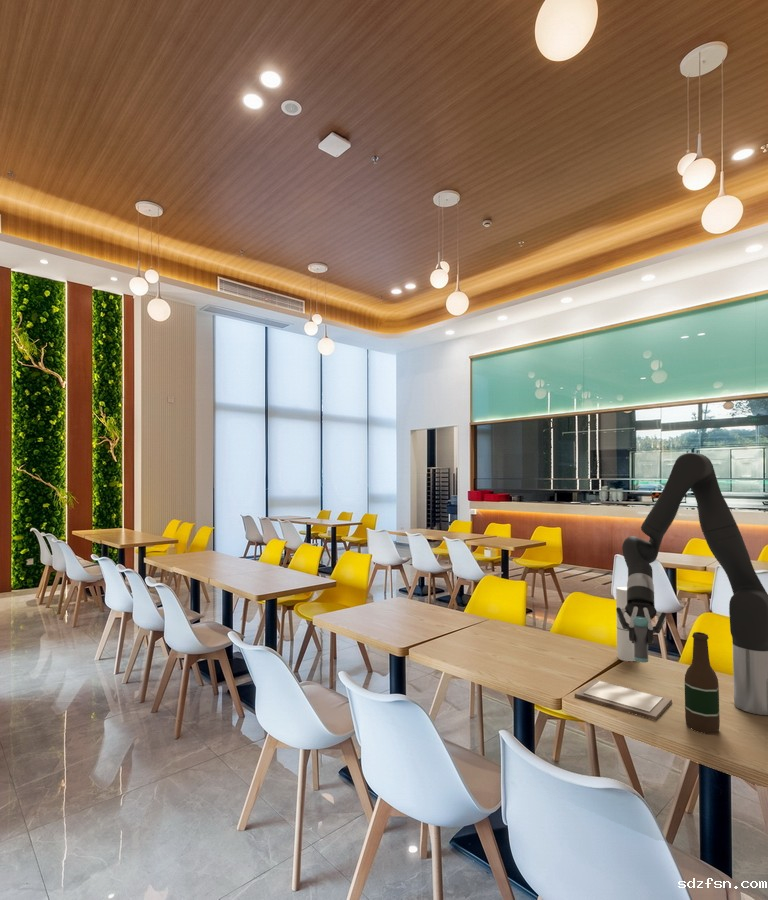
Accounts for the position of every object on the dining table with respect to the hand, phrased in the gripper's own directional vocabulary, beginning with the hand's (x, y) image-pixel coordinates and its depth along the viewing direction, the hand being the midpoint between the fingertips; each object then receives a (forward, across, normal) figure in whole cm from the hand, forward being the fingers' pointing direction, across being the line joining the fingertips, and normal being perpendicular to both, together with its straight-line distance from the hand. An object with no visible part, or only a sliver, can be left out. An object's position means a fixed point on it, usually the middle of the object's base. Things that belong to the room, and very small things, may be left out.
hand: (641, 642), depth 149 cm
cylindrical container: (-18, -4, +44) cm, 48 cm away
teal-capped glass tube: (+2, 0, +5) cm, 6 cm away
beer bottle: (+18, +14, +7) cm, 24 cm away
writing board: (+11, -5, +14) cm, 19 cm away
